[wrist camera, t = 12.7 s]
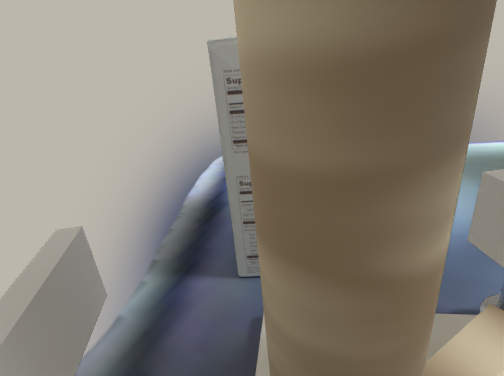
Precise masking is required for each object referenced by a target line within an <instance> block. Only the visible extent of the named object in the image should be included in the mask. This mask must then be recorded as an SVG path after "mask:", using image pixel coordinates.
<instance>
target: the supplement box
mask: <svg viewBox="0 0 504 376" xmlns="http://www.w3.org/2000/svg"><path fill="white" fill-rule="evenodd" d="M207 45H208V52H209V58H210V66H211V73H212V79H213V87H214V94H215V101H216V109H217V116H218V123H219V131H220V139H221V147H222V154H223V161H224V168H225V176H226V183H227V190H228V198H229V205H230V213H231V221H232V228H233V236H234V244H235V252H236V260H237V268H238V275H239V276H240V277H249V276H260V267H259V257H258V247H257V237H256V226H255V216H254V206H253V196H252V185H251V175H250V165H249V155H248V144H247V134H246V124H245V114H244V104H243V93H242V83H241V73H240V63H239V52H238V42H237V37H228V38H219V39H210V40H208V41H207Z"/></svg>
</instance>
